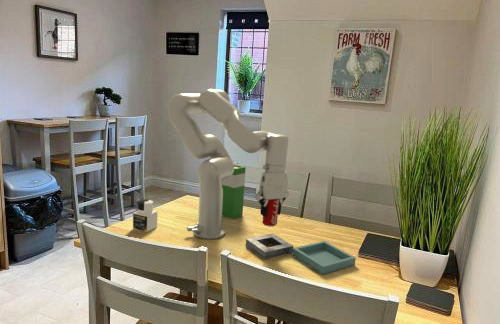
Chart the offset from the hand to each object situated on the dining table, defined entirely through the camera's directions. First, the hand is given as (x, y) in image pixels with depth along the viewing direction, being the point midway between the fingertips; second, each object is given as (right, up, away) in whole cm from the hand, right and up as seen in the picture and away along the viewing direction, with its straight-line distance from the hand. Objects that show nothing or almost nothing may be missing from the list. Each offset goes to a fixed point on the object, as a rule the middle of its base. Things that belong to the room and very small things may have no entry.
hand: (270, 214), depth 136 cm
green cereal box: (-21, -5, +41) cm, 46 cm away
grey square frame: (0, -14, +2) cm, 14 cm away
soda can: (0, -4, +1) cm, 4 cm away
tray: (+19, -16, -4) cm, 25 cm away
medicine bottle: (-52, -8, +15) cm, 55 cm away
